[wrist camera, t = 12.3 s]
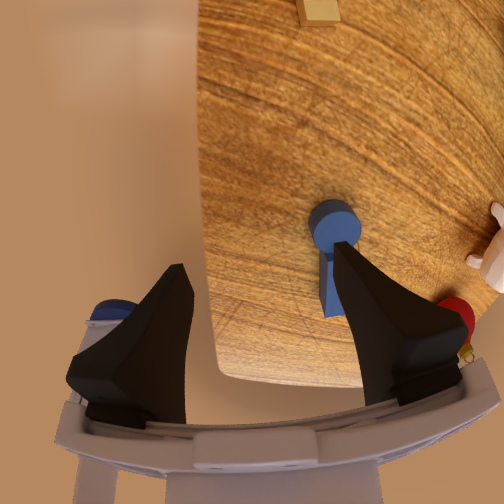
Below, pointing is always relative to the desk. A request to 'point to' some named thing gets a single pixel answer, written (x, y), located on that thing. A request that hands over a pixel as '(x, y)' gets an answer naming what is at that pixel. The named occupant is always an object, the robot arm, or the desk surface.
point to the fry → (318, 12)
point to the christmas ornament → (467, 316)
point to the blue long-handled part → (332, 246)
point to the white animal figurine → (492, 255)
